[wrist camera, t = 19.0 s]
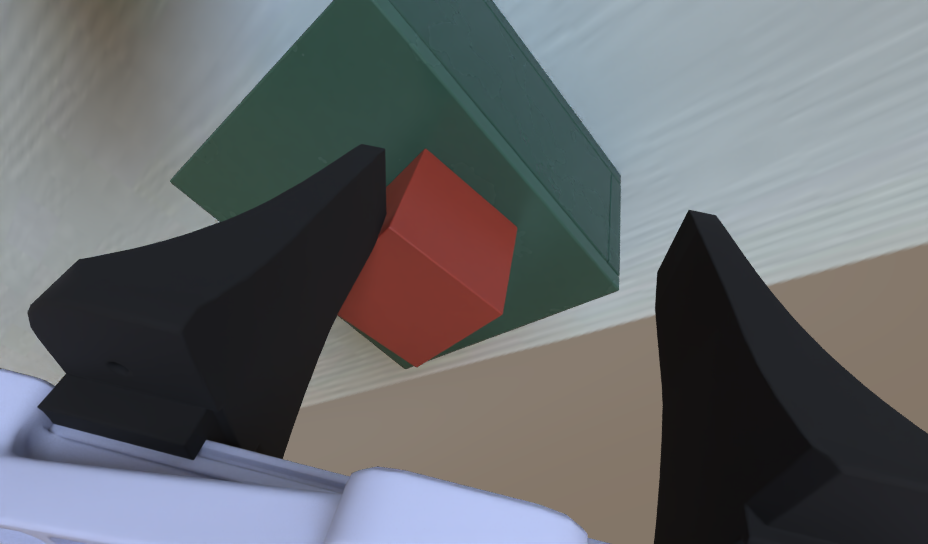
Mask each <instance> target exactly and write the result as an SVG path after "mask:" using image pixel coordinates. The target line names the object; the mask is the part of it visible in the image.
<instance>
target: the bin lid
mask: <svg viewBox="0 0 928 544" xmlns="http://www.w3.org/2000/svg"><path fill="white" fill-rule="evenodd" d="M360 144H365V145H370V146H375V147H380V148H385V159H386V187H387V186H388V185H389V184H390V183H391V182H392V181H393V180H394V179H395V178H396V177H397V176H398V175H399V174H400V173H401V172H402V171H403V170H404V169H405V168H406V167H407V166H408V165H409V164H410V163H411V162H412V161H413V160H414V159H415V158H416V157H417V156H418V155H419V154H420V153H421V152H422V151H423V150H424V149H427V150H428V151H430V152H431V153H432V154H433V155H434V156H435V157H436V158H438V159H439V160H440V161H441V162H442V163H443V164H445V165H446V166H447V167H448V168H449V169H450V170H452V171H453V172H454V173H455V174H456V175H457V176H458V177H460V178H461V179H462V180H463V181H464V182H465V183H467V184H468V185H469V186H470V187H471V188H472V189H474V190H475V191H476V192H477V193H478V194H479V195H481V196H482V197H483V198H484V199H485V200H486V201H487V202H489V203H490V204H491V205H492V206H493V207H494V208H496V209H497V210H498V211H499V212H500V213H501V214H503V215H504V216H505V217H506V218H507V219H508V220H510V221H511V222H512V223H513V224H514V225H515V226H516V227H517V234H516V240H515V246H514V252H513V258H512V263H511V269H510V275H509V281H508V287H507V293H506V298H505V304H504V310H503V314H502V315H501V316H500V317H498V318H496V319H495V320H493V321H492V322H490V323H488V324H487V325H485V326H483V327H482V328H480V329H479V330H477V331H475V332H474V333H472V334H470V335H469V336H467V337H466V338H464V339H462V340H461V341H459V342H457V343H456V344H454V345H453V346H451V347H449V348H448V349H446V350H444V351H443V352H441V353H440V354H438V355H436V356H435V357H433V358H431V359H430V360H432V359H435V358H437V357H440V356H443V355H445V354H448V353H451V352H454V351H456V350H459V349H462V348H464V347H467V346H470V345H473V344H475V343H478V342H481V341H483V340H486V339H489V338H492V337H494V336H497V335H500V334H502V333H505V332H508V331H511V330H513V329H516V328H519V327H521V326H524V325H527V324H529V323H532V322H535V321H538V320H540V319H543V318H546V317H548V316H551V315H554V314H557V313H559V312H562V311H565V310H567V309H570V308H573V307H576V306H578V305H581V304H584V303H586V302H589V301H592V300H594V299H597V298H600V297H603V296H605V295H608V294H611V293H613V292H616V291H618V290H619V277H618V275H617V274H616V273H615V272H614V271H613V269H612V268H611V267H610V266H609V265H608V263H607V262H606V261H605V260H604V259H603V257H602V256H601V255H600V254H599V253H598V251H597V250H596V249H595V248H594V247H593V245H592V244H591V243H590V242H589V241H588V239H587V238H586V237H585V236H584V235H583V233H582V232H581V231H580V230H579V229H578V227H577V226H576V225H575V224H574V223H573V221H572V220H571V219H570V218H569V217H568V215H567V214H566V213H565V212H564V211H563V209H562V208H561V207H560V206H559V205H558V203H557V202H556V201H555V200H554V199H553V197H552V196H551V195H550V194H549V193H548V191H547V190H546V189H545V188H544V187H543V185H542V184H541V183H540V182H539V181H538V179H537V178H536V177H535V176H534V175H533V173H532V172H531V171H530V170H529V169H528V167H527V166H526V165H525V164H524V163H523V161H522V160H521V159H520V158H519V156H518V155H517V154H516V153H515V152H514V150H513V149H512V148H511V147H510V146H509V144H508V143H507V142H506V141H505V140H504V138H503V137H502V136H501V135H500V134H499V132H498V131H497V130H496V129H495V128H494V126H493V125H492V124H491V123H490V122H489V120H488V119H487V118H486V117H485V116H484V114H483V113H482V112H481V111H480V110H479V108H478V107H477V106H476V105H475V104H474V102H473V101H472V100H471V99H470V98H469V96H468V95H467V94H466V93H465V92H464V90H463V89H462V88H461V87H460V86H459V84H458V83H457V82H456V81H455V80H454V78H453V77H452V76H451V75H450V74H449V72H448V71H447V70H446V69H445V68H444V66H443V65H442V64H441V63H440V62H439V60H438V59H437V58H436V57H435V56H434V54H433V53H432V52H431V51H430V50H429V48H428V47H427V46H426V45H425V44H424V42H423V41H422V40H421V39H420V38H419V36H418V35H417V34H416V33H415V32H414V30H413V29H412V28H411V27H410V26H409V24H408V23H407V22H406V21H405V19H404V18H403V17H402V16H401V15H400V13H399V12H398V11H397V10H396V9H395V7H394V6H393V5H392V4H391V3H390V1H389V0H333V1H332V3H331V4H330V5H329V6H328V7H327V8H326V9H325V10H324V11H323V12H322V14H321V15H320V16H319V17H318V18H317V19H316V20H315V21H314V22H313V23H312V25H311V26H310V27H309V28H308V29H307V30H306V31H305V32H304V33H303V34H302V36H301V37H300V38H299V39H298V40H297V41H296V42H295V43H294V44H293V45H292V47H291V48H290V49H289V50H288V51H287V52H286V53H285V54H284V55H283V56H282V58H281V59H280V60H279V61H278V62H277V63H276V64H275V65H274V66H273V67H272V69H271V70H270V71H269V72H268V73H267V74H266V75H265V76H264V77H263V78H262V80H261V81H260V82H259V83H258V84H257V85H256V86H255V87H254V88H253V89H252V91H251V92H250V93H249V94H248V95H247V96H246V97H245V98H244V99H243V100H242V102H241V103H240V104H239V105H238V106H237V107H236V108H235V109H234V110H233V111H232V113H231V114H230V115H229V116H228V117H227V118H226V119H225V120H224V121H223V122H222V124H221V125H220V126H219V127H218V128H217V129H216V130H215V131H214V132H213V134H212V135H211V136H210V137H209V138H208V139H207V140H206V141H205V142H204V143H203V145H202V146H201V147H200V148H199V149H198V150H197V151H196V152H195V153H194V154H193V156H192V157H191V158H190V159H189V160H188V161H187V162H186V163H185V164H184V165H183V167H182V168H181V169H180V170H179V171H178V172H177V173H176V174H175V175H174V176H173V178H172V179H171V180H170V182H171V183H172V184H173V185H174V186H176V187H177V188H178V189H179V190H181V191H182V192H183V193H184V194H186V195H187V196H188V197H189V198H191V199H192V200H193V201H194V202H196V203H197V204H198V205H199V206H201V207H202V208H203V209H204V210H206V211H207V212H208V213H209V214H211V215H212V216H213V217H214V218H216V219H217V220H218V221H219V222H222V221H225V220H227V219H230V218H232V217H235V216H237V215H239V214H241V213H244V212H246V211H248V210H250V209H253V208H255V207H257V206H259V205H261V204H263V203H265V202H267V201H269V200H271V199H273V198H274V197H276V196H278V195H280V194H281V193H283V192H285V191H287V190H289V189H290V188H292V187H294V186H296V185H297V184H299V183H301V182H303V181H304V180H306V179H307V178H309V177H311V176H312V175H314V174H315V173H317V172H318V171H320V170H322V169H323V168H325V167H326V166H328V165H329V164H331V163H332V162H334V161H335V160H337V159H338V158H340V157H341V156H343V155H344V154H346V153H347V152H349V151H350V150H352V149H354V148H355V147H357V146H358V145H360ZM339 317H340V316H339ZM340 318H341V317H340ZM341 319H343V318H341ZM343 320H344V319H343ZM344 321H345V322H346V323H348V324H349V325H350V326H351V327H353V328H354V329H355V330H356V331H358V332H359V333H360V334H361V335H363V336H364V337H365V338H367V339H368V340H369V341H370V342H372V343H373V344H374V345H375V346H377V347H378V348H379V349H380V350H382V351H383V352H384V353H385V354H387V355H388V356H389V357H390V358H392V359H393V360H394V361H395V362H397V363H398V364H399V365H400V366H402V367H403V368H404V369H408V368H410V367H413V365H412V364H410V363H409V362H407V361H406V360H404V359H403V358H401V357H400V356H398V355H397V354H395V353H394V352H392V351H391V350H389V349H388V348H386V347H385V346H383V345H382V344H380V343H379V342H377V341H376V340H374V339H373V338H371V337H370V336H368V335H367V334H365V333H364V332H362V331H361V330H359V329H358V328H356V327H355V326H353V325H352V324H350V323H349V322H347V321H346V320H344ZM428 361H429V360H428Z"/></svg>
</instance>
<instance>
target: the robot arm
mask: <svg viewBox="0 0 928 544" xmlns="http://www.w3.org/2000/svg"><path fill="white" fill-rule="evenodd" d="M386 214H387V212H386V159H385V148H380V147H375V146H370V145H365V144H360V145H358V146H357V147H355V148H354V149H352V150H350V151H349V152H347V153H346V154H344V155H343V156H341V157H340V158H338V159H337V160H335V161H334V162H332V163H331V164H329V165H328V166H326V167H325V168H323V169H322V170H320V171H318V172H317V173H315V174H314V175H312V176H311V177H309V178H307V179H306V180H304V181H303V182H301V183H299V184H297V185H296V186H294V187H292V188H290V189H289V190H287V191H285V192H283V193H281V194H280V195H278V196H276V197H274V198H273V199H271V200H269V201H267V202H265V203H263V204H261V205H259V206H257V207H255V208H253V209H250V210H248V211H246V212H244V213H241V214H239V215H237V216H235V217H232V218H230V219H227V220H225V221H222V222H219V223H216V224H214V225H211V226H208V227H205V228H203V229H200V230H197V231H194V232H192V233H189V234H185V235H182V236H179V237H175V238H172V239H169V240H165V241H162V242H158V243H154V244H150V245H146V246H142V247H138V248H134V249H130V250H125V251H120V252H115V253H110V254H105V255H100V256H95V257H90V258H84V259H79V260H78V261H77V262H76V263H75V264H73V265H72V266H71V267H70V268H69V269H68V270H67V271H66V272H65V273H64V274H63V275H62V276H61V277H60V278H59V279H58V280H57V281H55V282H54V283H53V284H52V285H51V286H50V287H49V288H48V289H47V290H46V291H45V292H44V293H43V294H42V295H41V296H40V297H39V298H38V299H36V300H35V301H34V302H33V303H32V304H31V305H30V308H29V310H28V317H29V322H30V326H31V328H32V330H33V331H34V333H35V334H36V336H37V338H38V339H39V340H40V341H41V343H42V344H43V345H44V346H45V348H46V349H47V350H48V351H49V353H50V354H51V355H52V356H53V358H54V359H55V360H56V361H57V363H58V364H59V365H60V366H61V368H62V369H63V370H64V371H65V373H66V375H65V376H64V377H63V378H62V379H61V380H60V381H59V383H58V384H57V385H56V386H54V385H52V384H51V383H49V382H47V381H45V380H42V379H40V378H37V377H33V376H29V375H25V374H21V373H17V372H14V371H10V370H6V369H2V368H0V544H610V543H606V542H602V541H598V540H595V539H591V538H587V533H586V532H585V531H584V529H583V528H582V527H581V526H579V525H578V524H577V523H576V522H574V521H573V520H572V519H571V518H570V517H568V516H567V515H566V514H563V513H561V512H558V511H556V510H553V509H550V508H547V507H545V506H542V505H539V504H536V503H531V502H528V501H524V500H520V499H516V498H512V497H508V496H504V495H500V494H496V493H493V492H489V491H485V490H481V489H477V488H473V487H469V486H465V485H461V484H457V483H453V482H449V481H445V480H441V479H437V478H434V477H429V476H426V475H422V474H418V473H414V472H410V471H406V470H400V469H393V468H385V467H378V466H377V467H372V468H367V469H362V470H358V471H356V472H353V473H352V474H351V476H346V475H342V474H338V473H334V472H330V471H326V470H323V469H319V468H315V467H311V466H307V465H303V464H299V463H295V462H292V461H288V460H284V459H283V456H284V453H285V450H286V447H287V444H288V441H289V438H290V435H291V432H292V429H293V426H294V423H295V420H296V417H297V415H298V412H299V409H300V406H301V404H302V401H303V398H304V395H305V392H306V390H307V387H308V384H309V382H310V379H311V377H312V374H313V371H314V369H315V366H316V364H317V361H318V358H319V356H320V354H321V351H322V349H323V346H324V344H325V341H326V339H327V336H328V334H329V332H330V329H331V327H332V325H333V323H334V321H335V319H336V317H337V315H338V313H339V311H340V309H341V307H342V305H343V303H344V302H345V300H346V298H347V296H348V294H349V293H350V291H351V289H352V287H353V285H354V283H355V282H356V280H357V278H358V276H359V274H360V273H361V271H362V269H363V267H364V265H365V263H366V261H367V260H368V258H369V256H370V254H371V252H372V250H373V248H374V246H375V244H376V241H377V239H378V235H379V233H380V231H381V228H382V225H383V223H384V220H385V217H386ZM655 312H656V325H657V337H658V348H659V360H660V370H661V382H662V400H663V414H662V444H661V463H660V480H659V494H658V506H657V519H656V529H655V539H654V544H928V434H927V433H926V432H925V431H923V430H922V429H920V428H919V427H917V426H916V425H915V424H913V423H912V422H911V421H909V420H908V419H907V418H905V417H904V416H902V415H901V414H900V413H899V412H897V411H896V410H895V409H893V408H892V407H891V406H889V405H888V404H887V403H885V402H884V401H883V400H882V399H880V398H879V397H878V396H877V395H875V394H874V393H873V392H872V391H870V390H869V389H868V388H867V387H865V386H864V385H863V384H862V383H861V382H860V381H858V380H857V379H856V378H855V377H854V376H853V375H852V374H850V373H849V372H848V371H847V370H845V368H844V367H842V366H841V365H840V364H839V363H838V362H837V361H836V360H835V359H834V358H832V357H831V356H830V355H829V354H828V353H827V352H826V351H825V350H824V349H823V348H822V347H821V346H820V345H819V344H818V343H817V342H816V341H815V340H814V339H813V338H812V337H811V336H810V335H809V334H808V333H807V332H806V331H805V330H804V329H803V328H802V327H801V326H800V325H799V324H798V322H797V321H796V320H795V319H794V318H793V317H792V316H791V315H790V314H789V312H788V311H787V310H786V309H785V307H784V306H783V305H782V304H781V303H780V302H779V300H778V299H777V298H776V297H775V296H774V294H773V293H772V292H771V291H770V289H769V288H768V287H767V285H766V284H765V283H764V282H763V280H762V279H761V278H760V276H759V275H758V274H757V272H756V271H755V270H754V268H753V267H752V266H751V264H750V263H749V261H748V260H747V259H746V257H745V256H744V254H743V253H742V252H741V250H740V249H739V247H738V246H737V244H736V243H735V241H734V240H733V239H732V237H731V236H730V234H729V233H728V231H727V230H726V229H725V227H724V226H723V224H722V223H721V222H720V220H719V219H718V218H717V216H716V215H712V214H707V213H702V212H697V211H692V210H688V212H687V214H686V216H685V218H684V220H683V222H682V224H681V226H680V228H679V230H678V232H677V234H676V236H675V238H674V240H673V242H672V244H671V246H670V248H669V250H668V252H667V254H666V256H665V258H664V260H663V262H662V264H661V266H660V268H659V270H658V272H657V286H656V303H655Z"/></svg>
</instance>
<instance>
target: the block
mask: <svg viewBox="0 0 928 544" xmlns="http://www.w3.org/2000/svg"><path fill="white" fill-rule="evenodd" d="M386 212H387V214H386V217H385V220H384V223H383V225H382V228H381V231H380V233H379V235H378V239H377V241H376V244H375V246H374V248H373V250H372V252H371V254H370V256H369V258H368V260H367V261H366V263H365V265H364V267H363V269H362V271H361V273H360V274H359V276H358V278H357V280H356V282H355V283H354V285H353V287H352V289H351V291H350V293H349V294H348V296H347V298H346V300H345V302H344V303H343V305H342V307H341V309H340V311H339V313H338V316H340V317H341V318H343V319H344V320H346V321H347V322H349V323H350V324H352V325H353V326H355V327H356V328H358V329H359V330H361V331H362V332H364V333H365V334H367V335H368V336H370V337H371V338H373V339H374V340H376V341H377V342H379V343H380V344H382V345H383V346H385V347H386V348H388V349H389V350H391V351H392V352H394V353H395V354H397V355H398V356H400V357H401V358H403V359H404V360H406V361H407V362H409V363H410V364H412V365H413V366H415V367H418V366H420V365H422V364H423V363H425V362H427V361H428V360H430V359H431V358H433V357H435V356H436V355H438V354H440V353H441V352H443V351H444V350H446V349H448V348H449V347H451V346H453V345H454V344H456V343H457V342H459V341H461V340H462V339H464V338H466V337H467V336H469V335H470V334H472V333H474V332H475V331H477V330H479V329H480V328H482V327H483V326H485V325H487V324H488V323H490V322H492V321H493V320H495V319H496V318H498V317H500V316H501V315H502V314H503V310H504V304H505V298H506V293H507V287H508V281H509V275H510V269H511V263H512V258H513V252H514V246H515V240H516V234H517V227H516V226H515V225H514V224H513V223H512V222H511V221H510V220H508V219H507V218H506V217H505V216H504V215H503V214H501V213H500V212H499V211H498V210H497V209H496V208H494V207H493V206H492V205H491V204H490V203H489V202H487V201H486V200H485V199H484V198H483V197H482V196H481V195H479V194H478V193H477V192H476V191H475V190H474V189H472V188H471V187H470V186H469V185H468V184H467V183H465V182H464V181H463V180H462V179H461V178H460V177H458V176H457V175H456V174H455V173H454V172H453V171H452V170H450V169H449V168H448V167H447V166H446V165H445V164H443V163H442V162H441V161H440V160H439V159H438V158H436V157H435V156H434V155H433V154H432V153H431V152H430V151H428V150H427V149H424V150H423V151H422V152H421V153H420V154H419V155H418V156H417V157H416V158H415V159H414V160H413V161H412V162H411V163H410V164H409V165H408V166H407V167H406V168H405V169H404V170H403V171H402V172H401V173H400V174H399V175H398V176H397V177H396V178H395V179H394V180H393V181H392V182H391V183H390V184H389V185H388V186H387V187H386Z"/></svg>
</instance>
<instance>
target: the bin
mask: <svg viewBox="0 0 928 544" xmlns="http://www.w3.org/2000/svg"><path fill="white" fill-rule="evenodd" d="M389 1H390V3H391V4H392V5H393V6H394V7H395V9H396V10H397V11H398V12H399V13H400V15H401V16H402V17H403V18H404V19H405V21H406V22H407V23H408V24H409V26H410V27H411V28H412V29H413V30H414V32H415V33H416V34H417V35H418V36H419V38H420V39H421V40H422V41H423V42H424V44H425V45H426V46H427V47H428V48H429V50H430V51H431V52H432V53H433V54H434V56H435V57H436V58H437V59H438V60H439V62H440V63H441V64H442V65H443V66H444V68H445V69H446V70H447V71H448V72H449V74H450V75H451V76H452V77H453V78H454V80H455V81H456V82H457V83H458V84H459V86H460V87H461V88H462V89H463V90H464V92H465V93H466V94H467V95H468V96H469V98H470V99H471V100H472V101H473V102H474V104H475V105H476V106H477V107H478V108H479V110H480V111H481V112H482V113H483V114H484V116H485V117H486V118H487V119H488V120H489V122H490V123H491V124H492V125H493V126H494V128H495V129H496V130H497V131H498V132H499V134H500V135H501V136H502V137H503V138H504V140H505V141H506V142H507V143H508V144H509V146H510V147H511V148H512V149H513V150H514V152H515V153H516V154H517V155H518V156H519V158H520V159H521V160H522V161H523V163H524V164H525V165H526V166H527V167H528V169H529V170H530V171H531V172H532V173H533V175H534V176H535V177H536V178H537V179H538V181H539V182H540V183H541V184H542V185H543V187H544V188H545V189H546V190H547V191H548V193H549V194H550V195H551V196H552V197H553V199H554V200H555V201H556V202H557V203H558V205H559V206H560V207H561V208H562V209H563V211H564V212H565V213H566V214H567V215H568V217H569V218H570V219H571V220H572V221H573V223H574V224H575V225H576V226H577V227H578V229H579V230H580V231H581V232H582V233H583V235H584V236H585V237H586V238H587V239H588V241H589V242H590V243H591V244H592V245H593V247H594V248H595V249H596V250H597V251H598V253H599V254H600V255H601V256H602V257H603V259H604V260H605V261H606V262H607V263H608V265H609V266H610V267H611V268H612V269H613V271H614V272H615V273H616V274H617V275H618V276H619V271H620V201H621V186H620V184H621V176H620V174H619V172H618V171H617V170H616V168H615V167H614V166H613V164H612V163H611V162H610V160H609V159H608V157H607V156H606V155H605V153H604V152H603V151H602V149H601V148H600V147H599V145H598V144H597V143H596V141H595V140H594V138H593V137H592V136H591V134H590V133H589V132H588V130H587V129H586V128H585V126H584V125H583V123H582V122H581V121H580V119H579V118H578V117H577V115H576V114H575V113H574V111H573V110H572V108H571V107H570V106H569V104H568V103H567V102H566V100H565V99H564V98H563V96H562V95H561V93H560V92H559V91H558V89H557V88H556V87H555V85H554V84H553V83H552V81H551V80H550V78H549V77H548V76H547V74H546V73H545V72H544V70H543V69H542V68H541V66H540V65H539V63H538V62H537V61H536V59H535V58H534V57H533V55H532V54H531V53H530V51H529V50H528V48H527V47H526V46H525V44H524V43H523V42H522V40H521V39H520V38H519V36H518V35H517V33H516V32H515V31H514V29H513V28H512V27H511V25H510V24H509V23H508V21H507V20H506V18H505V17H504V16H503V14H502V13H501V12H500V10H499V9H498V8H497V6H496V5H495V3H494V2H493V1H492V0H389Z"/></svg>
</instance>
